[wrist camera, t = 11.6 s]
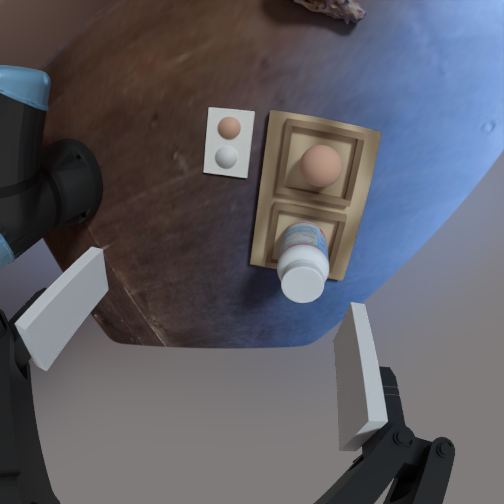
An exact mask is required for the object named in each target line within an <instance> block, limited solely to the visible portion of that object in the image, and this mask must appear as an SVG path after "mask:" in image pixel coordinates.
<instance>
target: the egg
mask: <svg viewBox="0 0 504 504" xmlns="http://www.w3.org/2000/svg"><path fill="white" fill-rule="evenodd" d="M300 170H301V173H302V175H303V177H304V178H305V179H306V181H308V182H309V183H310V184H312V185H314V186H318V187H326V186H329V185H332V184H333V183H335V182H336V181H337V180H338V179H339V177H340V175H341V172H342V161H341V158H340V156H339V154H338V153H337V152H336V151H335V150H334V149H332V148H331V147H329V146H326V145H315V146H312V147H310V148H309V149H307V150H306V151H305V152H304V154H303V155H302V158H301V161H300Z"/></svg>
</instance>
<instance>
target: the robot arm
mask: <svg viewBox="0 0 504 504" xmlns="http://www.w3.org/2000/svg"><path fill="white" fill-rule="evenodd" d="M50 86H51V81H50V78H49V76H48V75H47V74H46V73H45V72H43V71H40V70H35V69H30V68H23V67H16V66H6V65H0V269H1V268H3V267H4V266H6V265H7V264H9V263H10V262H13V261H14V260H15V259H16V258H18V257H19V256H20V255H21V254H22V253H24V252H25V251H26V250H27V249H29V248H30V247H31V246H32V245H34V244H35V243H36V242H38V241H39V240H40V239H42V238H43V237H44V236H46V235H47V234H48V233H50V232H51V231H53V230H54V229H56V228H61V227H67V226H72V225H77V224H80V223H82V222H84V221H85V220H86V219H88V218H89V217H91V216H92V215H93V214H94V213H95V212H96V210H97V209H98V207H99V205H100V202H101V198H102V191H103V184H102V176H101V172H100V168H99V165H98V163H97V161H96V159H95V157H94V155H93V154H92V152H91V151H90V150H89V149H88V148H87V147H86V146H85V145H84V144H82V143H81V142H79V141H77V140H74V139H63V140H60V141H57V142H54V143H52V144H50V145H49V146H47V147H46V148H45V149H44V150H43V151H42V152H41V148H42V139H43V131H44V125H45V119H46V113H47V111H48V99H49V91H50ZM107 291H108V284H107V278H106V271H105V264H104V257H103V249H99V248H95V247H91V248H90V249H89V250H88V251H87V252H85V253H84V254H83V255H82V256H81V257H80V258H79V259H78V260H77V261H76V262H75V263H73V264H72V265H71V266H70V267H69V268H68V269H67V270H66V271H65V272H64V273H63V274H62V275H61V276H60V277H59V278H58V279H57V280H56V281H55V282H54V283H53V284H52V285H51V286H50V287H49V288H48V289H47V288H43V289H41V290H40V291H38V292H36V293H35V294H34V295H33V296H32V297H31V298H30V300H28V301H27V302H26V304H25V305H24V306H23V307H22V308H21V309H20V310H19V311H18V312H17V313H16V314H15V315H14V316H13V317H12V318H11V319H10V321H9V322H8V321H7V318H6V316H5V314H4V312H3V311H2V310H1V309H0V504H60V502H59V500H58V499H57V498H56V496H55V495H54V493H53V491H52V488H51V485H50V481H49V478H48V474H47V470H46V467H45V463H44V458H43V454H42V450H41V445H40V440H39V436H38V430H37V424H36V418H35V411H34V404H33V395H32V386H31V373H30V365H29V362H28V361H29V359H30V358H32V360H33V361H34V363H35V365H36V366H38V367H40V368H42V369H43V370H46V371H47V370H48V368H49V367H50V366H51V364H52V363H53V361H54V360H55V358H56V357H57V356H58V354H59V353H60V352H61V350H62V349H63V347H64V346H65V345H66V343H67V342H68V341H69V339H70V338H71V337H72V335H73V334H74V333H75V331H76V330H77V329H78V327H79V326H80V325H81V324H82V322H83V321H84V319H85V318H86V317H87V316H88V315H89V313H90V312H91V311H92V310H93V308H94V307H95V306H96V304H97V303H98V302H99V301H100V300H101V298H102V297H103V296H104V295H105V293H106V292H107ZM334 352H335V365H336V379H337V397H338V398H337V399H338V423H339V451H357V450H358V449H359V448H360V447H361V446H362V454H361V455H360V456H359V457H358V458H357V459H355V460H354V461H353V464H352V465H351V466H350V468H349V469H348V470H347V471H346V472H345V473H344V474H343V475H342V477H340V478H339V479H338V481H337V482H336V483H335V484H334V485H333V486H332V487H331V488H330V489H329V490H328V491H327V492H326V493H325V494H324V495H322V496H321V498H319V499H318V500H317V501H316V502H315V503H314V504H374V503H375V502H376V500H377V499H378V498H379V497H380V495H381V494H382V493H383V491H384V490H385V489H386V488H387V486H388V485H389V483H390V482H391V481H392V479H393V478H394V480H393V482H392V485H391V487H390V490H389V492H388V494H387V496H386V498H385V501H384V503H383V504H442V503H443V499H444V496H445V493H446V489H447V486H448V482H449V478H450V474H451V470H452V466H453V461H454V456H455V448H454V445H453V443H452V442H451V441H450V440H449V439H447V438H445V437H439V438H436V439H435V440H434V441H433V442H430V441H427V440H423V439H420V438H417V437H415V436H414V433H413V432H412V431H411V430H410V429H409V428H408V427H406V425H405V421H404V415H403V410H402V405H401V400H400V396H399V390H398V388H397V387H398V385H397V381H396V377H395V375H394V373H393V372H392V370H391V369H390V367H379V366H378V361H377V356H376V351H375V346H374V342H373V337H372V333H371V328H370V324H369V320H368V316H367V312H366V308H365V304H360V303H354V302H351V303H350V305H349V307H348V309H347V312H346V314H345V316H344V319H343V321H342V323H341V325H340V328H339V330H338V332H337V334H336V336H335V338H334Z"/></svg>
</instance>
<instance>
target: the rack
mask: <svg viewBox="0 0 504 504" xmlns="http://www.w3.org/2000/svg"><path fill="white" fill-rule="evenodd" d="M381 133H382V132H379V131H375V130H371V129H368V128H364V127H360V126H355V125H351V124H347V123H342V122H338V121H333V120H328V119H323V118H318V117H313V116H307V115H302V114H296V113H289V112H283V111H276V110H270V116H269V124H268V131H267V139H266V147H265V154H264V162H263V170H262V177H261V185H260V193H259V200H258V208H257V216H256V223H255V231H254V239H253V246H252V254H251V262H250V264H252V265H258V266H263V267H269V268H274V269H277V264H278V258H279V252H280V246H281V240H282V236H283V233H284V231H285V230H286V228H287V227H288V226H290V225H291V224H293V223H295V222H300V221H308V222H312V223H315V224H316V225H318V226H319V227H320V228H321V229H322V230H323V232H324V234H325V237H326V243H327V251H328V260H329V274H328V277H327V278H330V279H336V280H342V281H343V278H344V275H345V272H346V269H347V266H348V262H349V259H350V256H351V253H352V249H353V246H354V243H355V239H356V236H357V232H358V229H359V225H360V222H361V218H362V214H363V211H364V207H365V203H366V199H367V195H368V191H369V187H370V183H371V179H372V175H373V170H374V166H375V161H376V157H377V152H378V147H379V143H380V138H381ZM315 145H326V146H329V147H331V148H332V149H334V150H335V151H336V152H337V153H338V154H339V156H340V158H341V161H342V172H341V175H340V177H339V179H338V180H337V181H336V182H335V183H333V184H332V185H329V186H326V187H318V186H314V185H312V184H310V183H309V182H308V181H306V179H305V178H304V177H303V175H302V173H301V170H300V161H301V158H302V155H303V154H304V152H305V151H306V150H307V149H309V148H310V147H312V146H315Z"/></svg>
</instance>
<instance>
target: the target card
mask: <svg viewBox="0 0 504 504" xmlns="http://www.w3.org/2000/svg"><path fill="white" fill-rule="evenodd" d="M254 117H255V112H254V111H245V110H235V109H224V108H210V107H209V110H208V121H207V133H206V145H205V159H204V173H212V174H220V175H227V176H235V177H241V178H247V176H248V167H249V159H250V150H251V142H252V133H253V125H254Z"/></svg>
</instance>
